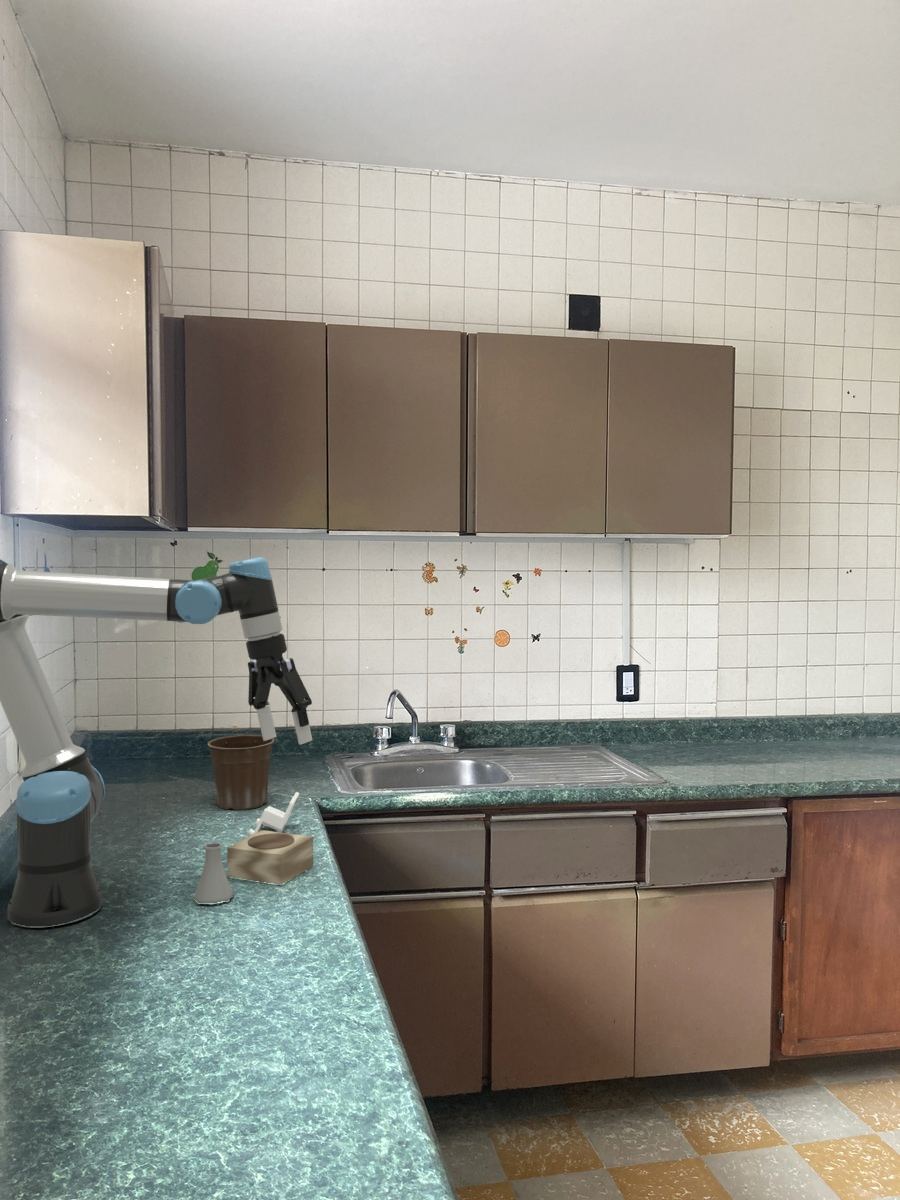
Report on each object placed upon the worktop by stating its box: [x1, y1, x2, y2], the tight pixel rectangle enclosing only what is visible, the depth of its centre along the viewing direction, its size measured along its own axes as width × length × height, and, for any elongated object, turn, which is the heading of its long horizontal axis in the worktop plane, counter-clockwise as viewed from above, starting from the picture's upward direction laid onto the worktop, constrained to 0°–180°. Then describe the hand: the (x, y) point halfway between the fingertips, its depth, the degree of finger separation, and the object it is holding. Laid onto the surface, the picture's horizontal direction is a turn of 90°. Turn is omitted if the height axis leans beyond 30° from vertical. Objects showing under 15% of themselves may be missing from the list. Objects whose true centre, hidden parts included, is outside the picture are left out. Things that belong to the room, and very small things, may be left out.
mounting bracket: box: [246, 791, 300, 837], centre depth 201 cm, size 12×6×11 cm, turn 1°
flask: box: [193, 841, 235, 903], centre depth 162 cm, size 7×7×10 cm
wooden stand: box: [226, 829, 314, 884], centre depth 176 cm, size 12×12×6 cm
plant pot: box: [207, 734, 275, 811], centre depth 226 cm, size 16×16×16 cm
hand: (287, 740), depth 177 cm, fingers open, 13 cm apart
